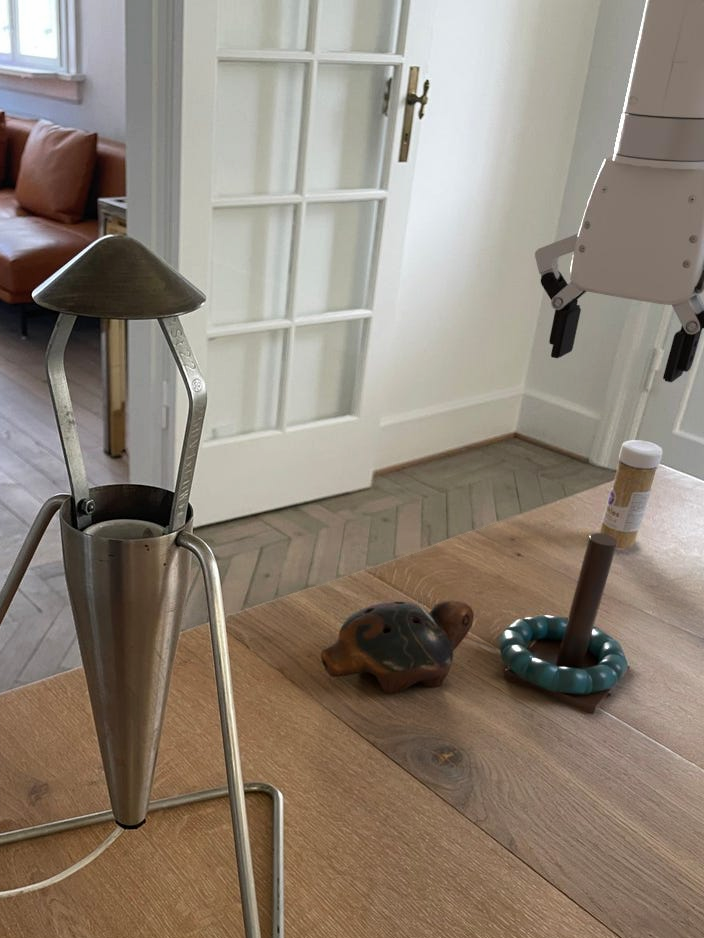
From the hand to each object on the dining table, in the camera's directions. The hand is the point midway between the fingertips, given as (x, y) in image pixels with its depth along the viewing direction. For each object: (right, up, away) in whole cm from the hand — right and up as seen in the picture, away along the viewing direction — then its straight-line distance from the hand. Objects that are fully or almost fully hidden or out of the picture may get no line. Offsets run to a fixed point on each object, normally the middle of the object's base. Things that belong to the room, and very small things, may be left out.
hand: (615, 365), depth 83 cm
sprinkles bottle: (+15, -12, +37) cm, 42 cm away
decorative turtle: (-17, -27, +12) cm, 34 cm away
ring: (-1, -25, +11) cm, 27 cm away
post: (0, -27, +12) cm, 30 cm away
